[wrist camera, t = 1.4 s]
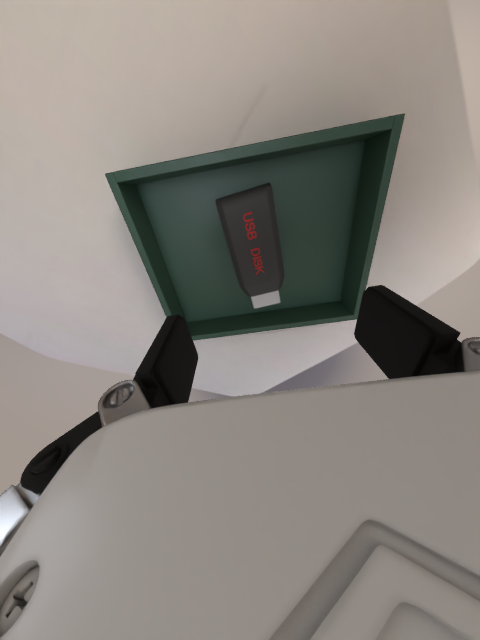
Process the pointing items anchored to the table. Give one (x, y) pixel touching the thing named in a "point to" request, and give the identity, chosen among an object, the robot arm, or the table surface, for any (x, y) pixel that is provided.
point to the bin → (292, 219)
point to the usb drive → (254, 242)
